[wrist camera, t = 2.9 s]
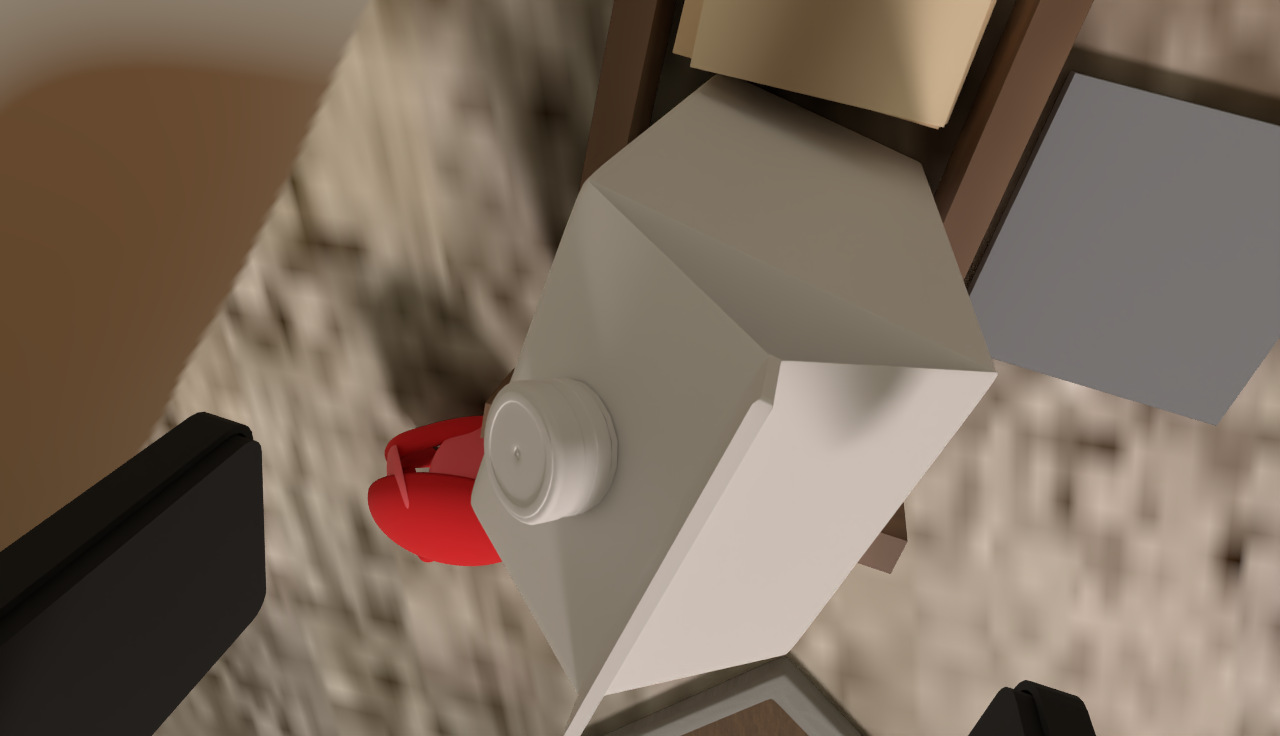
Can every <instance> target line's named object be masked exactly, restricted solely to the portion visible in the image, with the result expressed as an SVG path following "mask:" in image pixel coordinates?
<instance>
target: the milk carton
mask: <svg viewBox="0 0 1280 736" xmlns="http://www.w3.org/2000/svg"><path fill="white" fill-rule="evenodd" d="M997 375H998V372H997V371H996V370H995V367H994V364H993V362H992V359H991V356H990V353H989V351H988V348H987V345H986V342H985V339H984V337H983V334H982V331H981V328H980V326H979V323H978V320H977V317H976V314H975V312H974V309H973V306H972V303H971V300H970V298H969V295H968V292H967V289H966V287H965V284H964V281H963V278H962V275H961V273H960V270H959V267H958V264H957V262H956V259H955V256H954V253H953V250H952V248H951V245H950V242H949V239H948V237H947V234H946V231H945V228H944V225H943V223H942V220H941V217H940V214H939V211H938V209H937V206H936V203H935V200H934V198H933V195H932V192H931V189H930V186H929V184H928V181H927V178H926V175H925V173H924V170H923V167H922V164H921V163H920V162H918V161H916V160H914V159H912V158H910V157H907V156H905V155H903V154H901V153H899V152H897V151H894V150H892V149H890V148H888V147H886V146H884V145H882V144H879V143H877V142H875V141H873V140H871V139H869V138H867V137H864V136H862V135H860V134H858V133H856V132H854V131H852V130H849V129H847V128H845V127H843V126H841V125H839V124H836V123H834V122H832V121H830V120H828V119H826V118H824V117H821V116H819V115H817V114H815V113H813V112H811V111H809V110H806V109H804V108H802V107H800V106H798V105H796V104H793V103H791V102H789V101H787V100H785V99H783V98H781V97H778V96H776V95H774V94H772V93H770V92H768V91H766V90H763V89H761V88H759V87H757V86H755V85H753V84H750V83H748V82H746V81H744V80H742V79H739V78H734V77H730V76H726V75H722V74H718V73H717V74H716V75H714V76H713V77H712V78H711V79H709V80H708V81H707V82H706V83H704V84H703V85H702V86H701V87H699V88H698V89H697V90H696V91H694V92H693V93H692V94H691V95H689V96H688V97H687V98H686V99H684V100H683V101H682V102H681V103H679V104H678V105H677V106H676V107H674V108H673V109H672V110H671V111H669V112H668V113H667V114H666V115H664V116H663V117H662V118H661V119H659V120H658V121H657V122H656V123H654V124H653V125H652V126H651V127H649V128H648V129H647V130H646V131H644V132H643V133H642V134H641V135H639V136H638V137H637V138H636V139H634V140H633V141H632V142H631V143H629V144H628V145H627V146H626V147H624V148H623V149H622V150H621V151H619V152H618V153H617V154H616V155H614V156H613V157H612V158H611V159H609V160H608V161H607V162H606V163H605V164H603V165H602V166H601V167H600V168H599V169H597V170H596V171H595V172H594V173H593V174H592V175H591V176H590V177H589V178H588V179H587V180H586V181H585V183H584V184H583V185H582V188H581V190H580V192H579V194H578V197H577V199H576V202H575V204H574V207H573V209H572V212H571V215H570V217H569V220H568V222H567V225H566V228H565V230H564V233H563V236H562V239H561V241H560V244H559V247H558V250H557V252H556V255H555V258H554V261H553V263H552V266H551V269H550V272H549V274H548V277H547V280H546V283H545V285H544V288H543V291H542V294H541V297H540V299H539V302H538V305H537V308H536V311H535V313H534V316H533V319H532V322H531V325H530V327H529V330H528V333H527V336H526V339H525V341H524V344H523V347H522V350H521V353H520V355H519V358H518V361H517V364H516V366H515V369H514V372H513V375H512V378H511V380H510V383H509V384H507V385H505V386H504V387H503V388H502V389H501V390H500V391H499V392H498V394H497V395H496V397H495V399H494V400H493V403H492V405H491V407H490V410H489V413H488V416H487V420H486V426H485V432H484V456H483V459H482V462H481V465H480V468H479V471H478V474H477V477H476V480H475V483H474V487H473V491H472V495H471V506H472V508H473V510H474V512H475V514H476V516H477V518H478V519H479V521H480V523H481V525H482V527H483V528H484V530H485V532H486V534H487V535H488V537H489V539H490V541H491V542H492V544H493V546H494V548H495V549H496V551H497V553H498V555H499V557H500V558H501V560H502V562H503V564H504V565H505V567H506V569H507V571H508V572H509V574H510V576H511V578H512V579H513V581H514V583H515V585H516V587H517V588H518V590H519V592H520V594H521V595H522V597H523V599H524V601H525V602H526V604H527V606H528V608H529V609H530V611H531V613H532V615H533V617H534V618H535V620H536V622H537V624H538V625H539V627H540V629H541V631H542V632H543V634H544V636H545V638H546V640H547V641H548V643H549V645H550V647H551V648H552V650H553V652H554V654H555V655H556V657H557V659H558V661H559V662H560V664H561V666H562V668H563V670H564V671H565V673H566V675H567V677H568V678H569V680H570V682H571V684H572V685H573V687H574V689H575V691H576V692H577V695H578V697H577V700H576V702H575V705H574V707H573V710H572V713H571V715H570V718H569V721H568V723H567V726H566V729H565V731H564V734H563V736H581V734H582V732H583V731H584V729H585V727H586V725H587V724H588V722H589V720H590V719H591V717H592V715H593V714H594V712H595V710H596V708H597V707H598V705H599V703H600V702H601V700H602V698H603V696H604V695H609V694H613V693H618V692H622V691H626V690H631V689H635V688H640V687H644V686H649V685H653V684H658V683H662V682H667V681H671V680H675V679H680V678H684V677H689V676H693V675H698V674H702V673H707V672H711V671H716V670H720V669H724V668H729V667H733V666H738V665H742V664H747V663H751V662H756V661H760V660H765V659H769V658H773V657H778V656H782V655H785V654H787V653H788V652H789V651H790V650H791V649H792V648H793V646H794V645H795V644H796V643H797V641H798V640H799V639H800V638H801V636H802V635H803V634H804V632H805V631H806V630H807V629H808V627H809V626H810V625H811V623H812V622H813V621H814V619H815V618H816V617H817V615H818V614H819V613H820V611H821V610H822V609H823V607H824V606H825V605H826V603H827V602H828V601H829V600H830V598H831V597H832V596H833V594H834V593H835V592H836V590H837V589H838V588H839V586H840V585H841V584H842V582H843V581H844V580H845V578H846V577H847V576H848V574H849V573H850V572H851V570H852V569H853V568H854V566H855V565H856V564H857V563H858V561H859V560H860V559H861V557H862V556H863V555H864V553H865V552H866V551H867V549H868V548H869V547H870V545H871V544H872V543H873V541H874V540H875V539H876V537H877V536H878V535H879V533H880V532H881V531H882V529H883V528H884V527H885V526H886V524H887V523H888V522H889V520H890V519H891V518H892V516H893V515H894V514H895V512H896V511H897V510H898V508H899V507H900V506H901V504H902V503H903V502H904V500H905V499H906V498H907V496H908V495H909V494H910V492H911V491H912V490H913V489H914V487H915V486H916V485H917V483H918V482H919V481H920V479H921V478H922V477H923V475H924V474H925V473H926V471H927V470H928V469H929V467H930V466H931V465H932V463H933V462H934V461H935V459H936V458H937V457H938V455H939V454H940V453H941V452H942V450H943V449H944V448H945V446H946V445H947V444H948V442H949V441H950V440H951V438H952V437H953V436H954V434H955V433H956V432H957V430H958V429H959V428H960V426H961V425H962V424H963V422H964V421H965V420H966V418H967V417H968V416H969V414H970V413H971V412H972V410H973V409H974V408H975V406H976V405H977V404H978V402H979V401H980V400H981V398H982V397H983V396H984V394H985V393H986V392H987V390H988V389H989V387H990V386H991V384H992V383H993V382H994V380H995V379H996V377H997Z"/></svg>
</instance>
